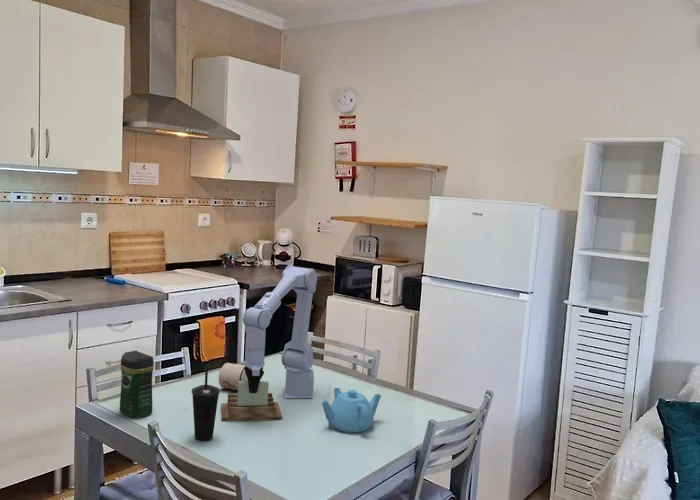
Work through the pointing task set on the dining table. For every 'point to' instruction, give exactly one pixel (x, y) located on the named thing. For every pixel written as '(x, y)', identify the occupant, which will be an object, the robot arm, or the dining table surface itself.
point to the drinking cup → (204, 409)
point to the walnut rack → (250, 410)
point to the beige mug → (231, 376)
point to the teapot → (351, 411)
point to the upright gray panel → (252, 394)
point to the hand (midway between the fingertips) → (252, 391)
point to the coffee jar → (136, 384)
